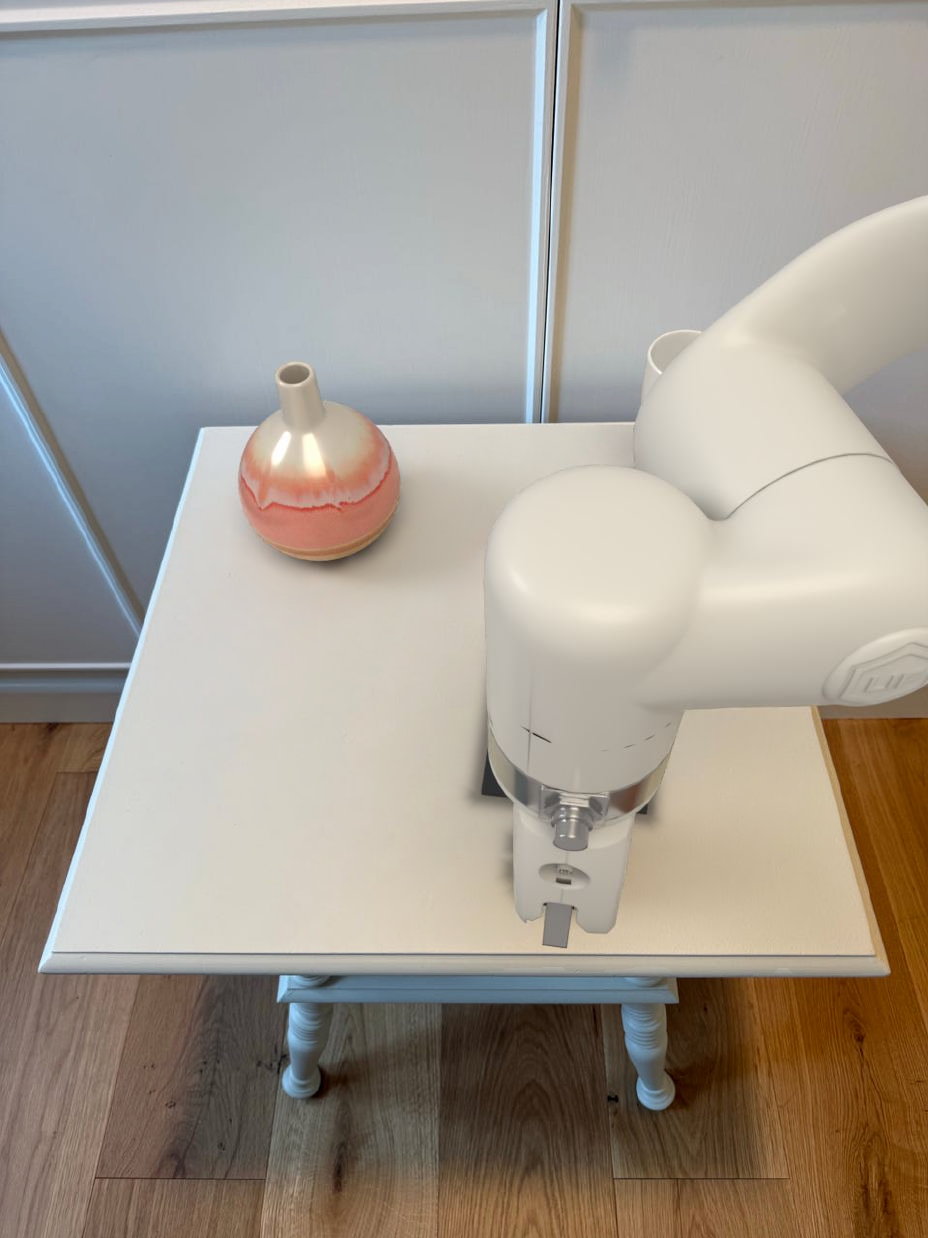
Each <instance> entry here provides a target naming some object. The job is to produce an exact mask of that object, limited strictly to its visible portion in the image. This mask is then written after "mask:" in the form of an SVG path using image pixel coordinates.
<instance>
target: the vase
mask: <svg viewBox="0 0 928 1238" xmlns="http://www.w3.org/2000/svg"><path fill="white" fill-rule="evenodd" d="M274 384H275V387H276V393H277V396H278V401H279V406H280V408H279V409H278V410H275V411H274V412H272V414H270V415H269V416H268V417H266V418H265V419H264V420H263V421H262V422H261V423H260V424H259V425H258V426H257V427H256V428H255V430H254V431H253V432H252V434H251V435H250V437H249V438H248V440H247V441H246V443H245V446H244V448H243V451H242V454H241V456H240V460H239V465H238V471H237V489H238V496H239V501H240V504H241V508H242V511H243V513H244V515H245V518H246V519H247V521H248V523H249V525H250V527H251V528H252V529H253V531H254V532H255V533H256V534H257V536H259V538H260V539H261V540H263V541H264V542H265V543H266V544H268V545H269V546H270V547H271V548H273V549H275V550H277V551H279V552H280V553H282V554H285V555H288V556H290V557H293V558H295V559H299V560H303V561H304V560H305V561H314V562H324V561H325V562H327V561H334V560H339V559H343V558H346V557H349V556H351V555H353V554H357V553H358V552H360V551H362V550H364V549H365V548H367V547H368V546H369V545H371V544H372V543H374V541H376V540H377V539H378V538H379V537H380V536H381V535H382V533H384V532H385V531H386V529H387V527H388V526H389V524H390V523H391V522H392V520H393V518H394V516H395V514H396V511H397V509H398V505H399V501H400V497H401V484H402V483H401V474H400V468H399V462H398V460H397V457H396V454H395V452H394V449H393V447H392V445H391V444H390V442H389V440H388V439H387V437H386V436H385V434H384V433H383V432H382V430H381V429H380V427H378V426H377V425H376V423H374V422H373V421H372V420H371V419H370V418H369V417H367V416H366V415H364V414H363V413H361V412H359V411H358V410H356V409H354V408H352V407H350V406H348V405H345V404H342V403H338V402H335V401H331V400H324V399H322V394H321V389H320V385H319V382H318V378H317V374H316V371H315V369H314V367H313V366H312V365H311V364H310V363H308V362H305V361H303V360H302V361H301V360H293V361H289V362H285V363H284V364H282V365H281V366H279V367H278V368H277V369H276V371H275V374H274Z"/></svg>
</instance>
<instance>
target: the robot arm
mask: <svg viewBox="0 0 928 1238" xmlns="http://www.w3.org/2000/svg"><path fill="white" fill-rule="evenodd" d="M701 332H702V333H701V334H700V335H699V336H698V337H697V338H696V339H694V340H693V341H692V342H691V343H690V344H689V345H688V346H687V347H686V348H685V349H683V350H682V351H681V352H680V353H679V354H678V355H677V356H676V357H675V359H674V360H673V361H672V362H671V363H670V364H669V365H668V367H667V368H666V369H665V370H664V371H663V372H662V374H661V375H660V376H659V377H658V378H657V380H656V381H655V382H654V384H653V385H652V387H651V388H650V390H649V392H648V393H647V395H646V397H645V398H644V400H643V402H642V404H641V406H640V405H639V408H638V412H637V414H636V417H635V421H634V424H633V429H632V449H631V450H632V456H633V461H634V465H635V468H632V467H627V466H621V465H613V464H586V465H579V466H573V467H572V466H571V467H568V468H565V469H561V470H557V471H554V472H552V473H550V474H547V475H545V476H543V477H540V478H539V479H537V480H535V481H534V482H532V483H531V484H529V485H528V486H526V487H525V488H523V489H522V490H520V491H519V492H518V494H516V495H515V496H514V497H513V498H512V499H511V500H510V501H509V502H508V503H507V504H506V506H505V507H504V508H503V509H502V510H501V512H500V513H499V515H498V517H497V519H496V521H495V523H494V524H493V526H492V528H491V531H490V534H489V536H488V539H487V541H486V546H485V550H484V551H485V552H484V561H483V579H482V580H483V610H484V611H483V612H484V613H483V614H484V616H483V617H484V645H485V647H484V650H485V690H486V691H485V692H486V693H485V694H486V718H487V719H486V721H487V725H486V726H487V750H488V754H489V761H490V765H491V768H492V771H493V774H494V776H495V778H496V780H497V782H498V784H499V785H500V787H501V788H502V790H503V791H504V793H505V794H506V795H507V796H508V797H509V798H508V799H509V800H510V801H511V802H512V803H513V825H512V826H513V827H512V831H513V832H512V836H513V837H512V838H513V839H512V840H513V842H512V847H513V848H512V849H513V850H512V855H513V856H512V857H513V859H512V861H513V863H512V864H513V866H512V867H513V898H514V899H513V900H514V901H513V903H514V910H515V912H516V915H517V916H518V918H519V919H520V920H521V921H522V922H523V923H524V924H527V922H529V921H530V922H534V921H536V920H538V919H540V918H541V917H542V914H543V908H544V907H545V911H544V920H543V933H542V943H541V946H546V947H554V948H559V949H567V948H568V944H569V936H570V930H571V922H572V915H573V910H574V911H576V913H575V920H574V921H575V923H576V924H577V925H578V927H580V928H581V929H582V930H583V931H584V932H585V933H588V934H594V935H595V934H597V935H607V934H608V933H610V932H611V931H612V930H613V929H614V928H615V926H616V924H617V919H618V914H619V908H620V903H621V899H622V894H623V890H624V889H623V888H624V885H625V880H626V875H627V870H628V863H629V858H630V852H631V845H632V839H633V832H634V825H635V818H636V814H637V813H636V812H638V811H639V810H641V809H642V808H643V807H644V806H645V805H646V804H647V803H649V802H650V801H651V800H652V798H653V797H654V795H655V794H656V792H658V789H659V787H660V786H661V784H662V781H663V779H664V776H665V773H666V769H667V768H668V763H669V761H670V758H671V754H672V752H673V748H674V745H675V742H676V739H677V735H678V732H679V729H680V726H681V722H682V720H683V717H684V713H685V711H697V710H698V711H699V710H716V709H737V708H738V709H741V708H742V709H743V708H744V709H745V708H747V709H748V708H750V709H751V708H795V707H797V708H798V707H799V708H801V707H820V706H834V705H835V706H836V705H838V706H844V707H855V708H856V707H857V708H859V707H869V706H876V705H879V704H884V703H888V702H891V701H894V700H897V699H900V698H902V697H905V696H908V695H909V694H911V693H914V692H916V691H918V690H919V689H922V688H923V687H925V686H927V685H928V504H927V503H926V502H925V501H924V500H923V499H922V497H921V496H920V495H919V493H918V492H917V491H916V490H915V489H914V488H913V486H912V485H911V484H910V482H909V481H908V480H907V479H906V478H905V476H904V475H903V474H902V472H901V470H900V468H899V466H898V465H897V463H895V462H894V460H893V459H892V458H891V457H890V456H889V454H888V452H886V450H885V449H884V448H883V447H882V445H881V444H880V443H879V442H878V441H877V438H875V437H874V436H873V434H872V433H871V432H870V430H869V429H868V428H867V427H866V426H865V424H864V423H863V422H862V420H861V419H860V418H859V416H857V415H856V413H855V412H854V411H853V409H852V408H851V406H849V404H848V403H847V402H846V401H845V400H844V398H843V397H842V396H844V395H845V394H847V392H849V391H850V390H851V389H853V388H855V387H856V386H858V385H859V384H860V383H862V382H863V381H865V380H867V379H868V378H869V377H871V376H872V375H874V374H876V373H877V372H879V371H881V370H883V369H885V368H886V367H888V366H890V365H891V364H893V363H895V362H896V361H897V362H898V361H899V360H901V359H905V358H906V357H908V356H910V355H912V354H914V353H917V352H919V351H921V350H924V349H927V348H928V194H924V195H921V196H917V197H915V198H911V199H909V200H906V201H903V202H900V203H897V204H894V205H891V206H888V207H886V208H883V209H881V210H879V211H876V212H874V213H872V214H870V215H867V216H864V217H861V218H860V219H858V220H855V221H853V222H852V223H849V224H847V225H845V226H844V227H842V228H840V229H838V230H836V231H835V232H833V233H831V234H829V235H827V236H825V237H824V238H822V239H821V240H819V241H818V242H816V243H815V244H814V245H812V246H810V247H809V248H807V249H806V250H804V251H803V252H802V253H800V254H798V255H797V256H796V257H794V258H793V259H792V260H791V261H789V262H788V263H787V264H785V265H784V266H783V267H781V268H780V269H779V270H778V271H776V272H775V273H773V274H772V275H771V276H770V277H769V278H768V279H766V280H764V281H763V282H762V283H761V284H760V285H758V286H757V287H756V288H755V289H753V290H752V291H750V293H748V294H747V295H745V297H743V298H742V299H741V300H739V301H738V302H737V303H736V304H734V305H733V306H732V307H730V308H729V309H728V310H726V312H725V313H723V314H722V315H721V316H720V317H718V318H717V319H716V320H714V321H713V322H712V323H711V324H710V325H709V326H708V327H707V328H705V329H704V330H703V331H701Z"/></svg>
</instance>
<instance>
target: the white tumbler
mask: <svg viewBox="0 0 928 1238" xmlns="http://www.w3.org/2000/svg"><path fill="white" fill-rule="evenodd" d="M702 332H703V331H701V330H695V329H678V330H672V331H668V332H666V333H663V334H661V335H660V336H658V337H656V339H654V340H653V341H652V342H651V343H650V345H649V347H648V350H647V354H646V359H645V363H644V368H643V373H642V380H641V388H640V396H639V397H640V398H639V399H640V400H639V407H640V406H641V404H642V402H643V400H644V398H645V397H646V395H647V393H648V392H649V390H650V388H651V387H652V385H653V384H654V382H655V381H656V380H657V378H658V377H659V376H660V375H661V374H662V372H663V371H664V370H665V369H666V368H667V367H668V365H669V364H670V363H671V362H672V361H673V360H674V359H675V357H676V356H677V355H678V354H679V353H680V352H681V351H682V350H683V349H685V348H686V347H687V346H688V345H689V344H690V343H691V342H692V341H693V340H694V339H696V338H697V337H698V336H699V335H700V334H701V333H702Z"/></svg>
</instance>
